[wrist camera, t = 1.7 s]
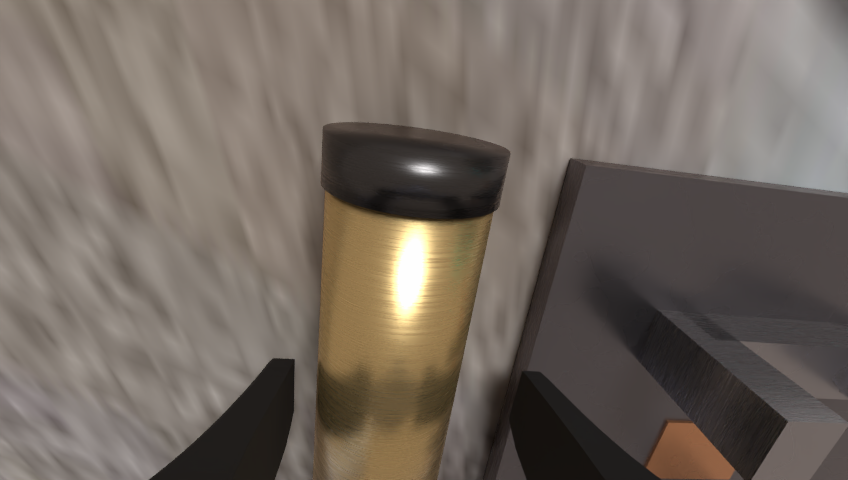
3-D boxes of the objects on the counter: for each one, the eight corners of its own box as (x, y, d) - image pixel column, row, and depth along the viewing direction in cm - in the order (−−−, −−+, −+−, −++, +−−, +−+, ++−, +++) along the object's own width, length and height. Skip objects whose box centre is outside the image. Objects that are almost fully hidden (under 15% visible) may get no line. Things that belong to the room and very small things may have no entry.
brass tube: (432, 526, 16) (399, 659, 12) (339, 491, 17) (281, 604, 13) (515, 143, 10) (502, 169, 7) (368, 119, 11) (282, 129, 7)
